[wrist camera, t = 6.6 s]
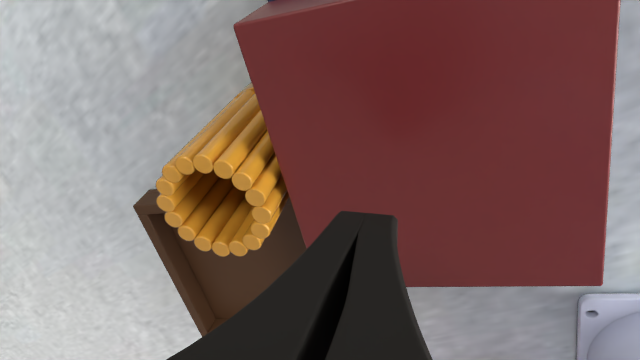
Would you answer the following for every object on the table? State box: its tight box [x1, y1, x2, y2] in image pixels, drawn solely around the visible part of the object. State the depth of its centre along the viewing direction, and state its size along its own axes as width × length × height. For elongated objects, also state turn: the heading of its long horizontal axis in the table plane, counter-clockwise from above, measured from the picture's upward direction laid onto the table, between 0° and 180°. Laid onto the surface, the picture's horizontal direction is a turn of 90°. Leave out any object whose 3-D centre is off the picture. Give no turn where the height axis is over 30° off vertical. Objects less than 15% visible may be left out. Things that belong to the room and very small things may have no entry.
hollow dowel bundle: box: [156, 82, 290, 257], centre depth 18 cm, size 7×4×4 cm
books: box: [234, 0, 621, 287], centre depth 16 cm, size 11×10×6 cm
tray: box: [133, 189, 307, 337], centre depth 26 cm, size 10×10×2 cm
